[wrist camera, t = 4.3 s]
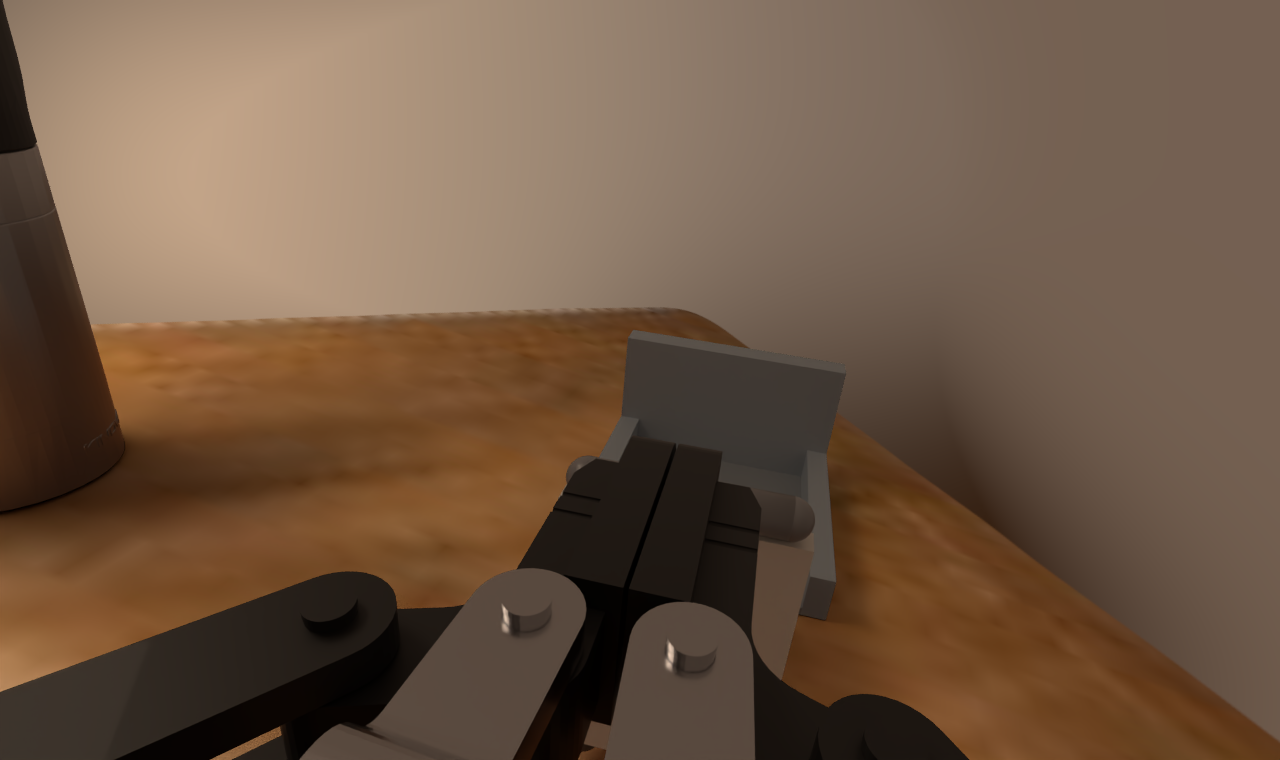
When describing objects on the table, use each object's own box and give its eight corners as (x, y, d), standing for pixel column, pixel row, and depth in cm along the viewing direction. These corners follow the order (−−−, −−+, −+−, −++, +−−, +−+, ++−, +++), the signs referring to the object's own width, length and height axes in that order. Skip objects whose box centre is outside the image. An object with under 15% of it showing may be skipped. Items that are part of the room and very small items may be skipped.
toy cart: (545, 770, 23) (557, 465, 17) (617, 575, 32) (640, 336, 26) (745, 826, 22) (824, 519, 16) (760, 607, 31) (814, 364, 25)
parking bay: (561, 560, 33) (567, 425, 30) (624, 436, 46) (633, 330, 42) (825, 620, 31) (864, 482, 28) (818, 473, 43) (844, 364, 40)
